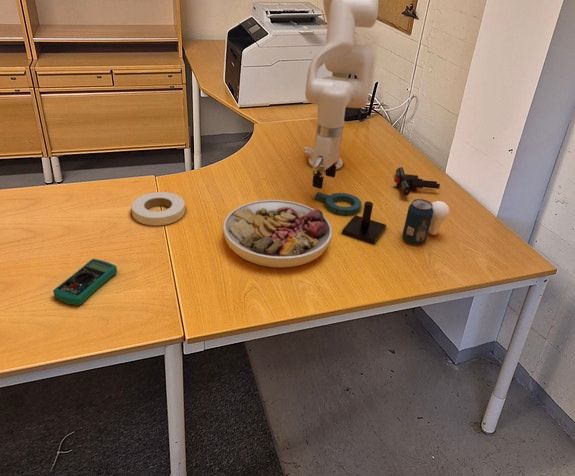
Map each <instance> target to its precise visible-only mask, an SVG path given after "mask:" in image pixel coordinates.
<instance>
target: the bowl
mask: <svg viewBox="0 0 575 476" xmlns="http://www.w3.org/2000/svg"><path fill="white" fill-rule="evenodd" d="M222 231H223V237H224V239H225V242H226V244H227V245H228V247H229V248H230V249H231V250H232V251H233V252H234V253H235V254H236V255H237V256H239V257H240V258H242V259H244V260H246V261H248V262H250V263H253V264H255V265H259V266H263V267H268V268H293V267H298V266H302V265H305V264H308V263H310V262H313V261H314V260H316V259H318V258H319V257H321V255H323V254H324V253H325V252H326V250H327V249H328V247H329V246H330V244H331V241H332V236H333V229H332V225H331V223H330V222H329V219H327V217H326V216H325V215H324V214H323V211H322V210H321V209H318V208H312V207H311V206H308V205H305V204H303V203H299V202H295V201H290V200H284V199H283V200H281V199H263V200H256V201H251V202H248V203H245V204H242V205H239V206H238V207H236V208H235V209H233V210H232V211H230V212H229V213H228V215H227V216H226V217H225V218H224V221H223V225H222Z"/></svg>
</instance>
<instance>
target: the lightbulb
mask: <svg viewBox="0 0 575 476" xmlns="http://www.w3.org/2000/svg"><path fill="white" fill-rule="evenodd" d="M431 204H432V205H433V207H432V208H433V216H432V220H431V223H430V227H429V231H428V234H430V235H431V236H435V235H437V234H438V232H439V230H440V228H441V225H442V224H443V222H445V221H446V220H447V219H448V218H449V216H450V207H449V206H448V204H447V203H446V202H444V201H442V200H436V201H433V202H431Z"/></svg>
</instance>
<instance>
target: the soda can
mask: <svg viewBox="0 0 575 476" xmlns="http://www.w3.org/2000/svg"><path fill="white" fill-rule="evenodd" d="M432 207H433V205H432V202H430V201H429V200H426V199H424V198H423V199H422V198H416V199H413V200H412V201H411V203H410V204H409V206H408V208H407V213H406V217H405V222H404V226H403V229H402V237H403V239H404V241H405V242H406V243H407V244H409V245H413V246H420V245H422V244H424V243H425V242H426V241H427V239H428V235H429V228H430V223H431V220H432V216H433V208H432Z"/></svg>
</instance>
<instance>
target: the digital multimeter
mask: <svg viewBox="0 0 575 476" xmlns="http://www.w3.org/2000/svg"><path fill="white" fill-rule="evenodd" d="M117 273H118V267H117V265H115V264H114V263H111V262H108V261H105V260H101V259H97V258H92V259H90V260H89V261H88V262H86V264H83V266H82V267H81V268H80V269H78V270H77V271H76V272H74V273H73V274H72V275H71V276H70V277H68V278H67V279H66V280H63V282H62V283H61V284H59V285H58V286H57V287H55V288H54V289H53V290H52V293H53V296H54V298H56V299H57V300H59V301H61V302H63V303H66V304H69V305H76V306H80V305H82V304H83V303H84V302H85V301H86V300H87V299H88V298H89V297H90V296H92V295H93V294H94V293H95V292H96V291H97V290H98V289H100V287H102V286H103V285H104V284H105V283H107V281H109V280H110V279H111V278H112V277H113V276H114V275H116V274H117Z"/></svg>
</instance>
